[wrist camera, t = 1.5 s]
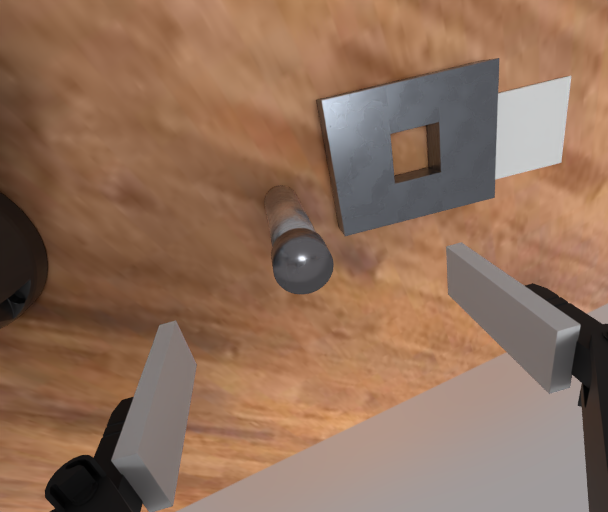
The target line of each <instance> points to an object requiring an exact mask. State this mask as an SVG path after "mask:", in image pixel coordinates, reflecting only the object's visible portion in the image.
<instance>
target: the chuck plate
mask: <svg viewBox="0 0 608 512" xmlns="http://www.w3.org/2000/svg"><path fill="white" fill-rule="evenodd" d="M498 82H499V58H497V59H489V60H482V61H477V62H473V63H469V64H465V65H461V66H456V67H452V68H448V69H444V70H440V71H435V72H431V73H427V74H423V75H419V76H414V77H410V78H406V79H402V80H398V81H393V82H389V83H385V84H381V85H377V86H372V87H368V88H364V89H360V90H356V91H351V92H347V93H343V94H339V95H335V96H331V97H326V98H322V99H318V100H316V101H317V107H318V113H319V118H320V124H321V129H322V135H323V141H324V146H325V152H326V158H327V163H328V169H329V174H330V180H331V186H332V191H333V197H334V203H335V208H336V214H337V219H338V225H339V228H340V230H341V231H342V233H343V234H344V235H345V236H348V235H352V234H355V233H359V232H363V231H367V230H371V229H375V228H379V227H383V226H386V225H390V224H394V223H398V222H402V221H406V220H410V219H414V218H417V217H421V216H425V215H429V214H433V213H437V212H441V211H444V210H448V209H452V208H456V207H460V206H464V205H468V204H472V203H475V202H479V201H483V200H487V199H491V198H495V169H496V140H497V111H498ZM424 125H427V143H428V163H429V167H427V168H423V169H419V170H415V171H412V172H408V173H404V174H400V175H396V176H394V169H393V158H392V148H391V137H390V134H392V133H396V132H400V131H404V130H408V129H412V128H416V127H420V126H424Z"/></svg>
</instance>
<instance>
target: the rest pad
mask: <svg viewBox="0 0 608 512" xmlns="http://www.w3.org/2000/svg"><path fill="white" fill-rule="evenodd" d="M570 82H571V76H566V77H562V78H558V79H554V80H550V81H546V82H541V83H537V84H533V85H529V86H525V87H521V88H517V89H513V90H509V91H505V92H500V93H498V111H497V140H496V169H495V179H499V178H503V177H507V176H511V175H515V174H518V173H522V172H526V171H530V170H534V169H538V168H542V167H546V166H550V165H554V164H558V163H561V159H562V151H563V142H564V134H565V125H566V117H567V108H568V100H569V91H570Z"/></svg>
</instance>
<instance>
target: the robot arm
mask: <svg viewBox="0 0 608 512" xmlns="http://www.w3.org/2000/svg"><path fill="white" fill-rule="evenodd" d="M446 253H447V278H448V295H449V296H450V297H451V298H452V299H453V300H455V301H456V302H457V303H458V304H459V305H460V306H461V307H462V308H463V309H464V310H465V311H466V312H467V313H468V314H469V315H470V316H471V317H472V318H473V319H474V320H475V321H476V322H477V323H478V324H479V325H480V326H481V327H482V328H483V329H484V330H485V331H486V332H487V333H488V334H489V335H490V336H491V337H492V338H493V339H494V340H495V341H496V342H497V343H498V344H499V345H500V346H501V347H502V348H503V349H504V350H505V351H506V352H507V353H508V354H509V355H510V356H511V357H512V358H513V359H514V360H516V362H517V363H518V364H519V365H521V366H522V368H523V369H524V370H525V371H527V372H528V373H529V374H530V375H531V376H532V377H533V378H534V379H535V380H536V381H537V382H538V383H539V384H540V385H541V386H542V387H543V388H544V389H545V390H546V391H547V392H548V393H549V394H550V393H553V392H557V391H560V390H564V389H567V388H570V384H571V378H572V375H573V376H575V377H576V378H577V379H578V380H579V381H580V382H582V385H581V390H580V396H579V401H578V406H581V407H582V417H583V431H584V445H585V459H586V473H587V487H588V501H589V512H608V324H601V323H600V322H598V321H597V320H595V319H594V318H592V317H591V316H589V315H588V314H586V313H584V312H583V311H581V310H580V309H578V308H577V307H575V306H574V305H572V304H571V303H568V302H567V301H566V300H564V299H563V298H561V297H560V298H559V296H558V295H557V294H555V293H554V292H552V291H550V290H549V289H547V288H544V287H542V286H539V285H536V284H533V283H532V284H529V285H525V286H524V285H522V284H521V283H520V282H518V281H517V280H515V279H514V278H512V277H511V276H509V275H508V274H506V273H505V272H504V271H502V270H501V269H499V268H498V267H496V266H495V265H493V264H492V263H491V262H489V261H488V260H486V259H485V258H483V257H482V256H480V255H479V254H477V253H476V252H475V251H473V250H472V249H470V248H469V247H467V246H466V245H464V244H463V243H462V242H461V243H458V244H454V245H450V246H447V247H446ZM47 270H48V264H47V256H46V252H45V248H44V245H43V242H42V240H41V238H40V236H39V234H38V232H37V230H36V229H35V227H34V226H33V224H32V223H31V221H30V220H29V219H28V218H27V216H26V215H25V214H24V213H23V212H22V211H21V210H20V209H19V208H18V207H17V206H16V205H15V204H14V203H13V202H12V201H11V200H9V199H8V198H7V197H6V196H4V195H3V194H2V193H0V329H1V328H3V327H4V326H6V325H8V324H9V323H11V322H12V321H14V320H15V319H17V318H18V317H19V316H20V315H21V314H22V313H23V312H24V311H25V310H26V309H27V308H28V307H29V306H30V305H31V304H32V303H33V302H34V301H35V300H36V299H37V298H38V296H39V295H40V293H41V291H42V290H43V287H44V285H45V282H46V278H47ZM196 366H197V364H196V362H195V360H194V358H193V356H192V353H191V351H190V349H189V347H188V345H187V343H186V341H185V339H184V337H183V334H182V332H181V330H180V328H179V326H178V324H177V322H176V321H172V322H169V323H165V324H161V325H159V328H158V331H157V333H156V336H155V339H154V342H153V345H152V347H151V350H150V353H149V356H148V359H147V361H146V364H145V367H144V370H143V373H142V375H141V378H140V381H139V384H138V387H137V389H136V392H135V395H134V397H131V398H128V399H124V400H122V401H121V402H120V403H119V405H118V406H117V407H116V408H115V410H114V411H113V412H112V414H111V417H110V419H109V422H108V424H107V428H106V429H105V431H104V434H103V438H102V439H101V441H100V444H99V446H98V449H97V451H96V453H95V456H94V458H93V457H91V456H90V455H81V456H78V457H76V458H73V459H72V460H70V461H68V462H67V463H65V464H64V465H63V466H62V467H61V468H60V469H58V470H57V471H56V472H55V473H54V475H53V476H52V478H51V479H50V480H49V482H48V484H47V487H46V489H45V498H46V499H47V500H48V501H49V502H50V503H51V504H52V505H53V506H54V507H55V509H54V510H52V511H50V512H140V511H141V507H142V503H143V504H144V506H145V507H146V508H147V510H148V511H149V512H154V511H158V510H161V509H164V508H168V507H171V506H173V503H174V497H175V491H176V485H177V479H178V473H179V467H180V461H181V455H182V449H183V443H184V438H185V432H186V426H187V420H188V414H189V408H190V402H191V396H192V390H193V384H194V378H195V372H196Z"/></svg>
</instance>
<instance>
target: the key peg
mask: <svg viewBox="0 0 608 512" xmlns="http://www.w3.org/2000/svg"><path fill="white" fill-rule="evenodd" d="M264 203H265V209H266V215H267V220H268V226H269V231H270V236H271V242H272V251H271V259H272V266H273V272H274V276H275V279H276V281H277V283H278V284H279V285H280V286H281V287H282V288H283V289H285V290H286V291H288V292H291V293H294V294H308V293H312V292H314V291H317V290H318V289H320V288H321V287H323V286H324V285H325V284H326V283H327V282H328V280H329V279H330V277H331V275H332V272H333V259H332V256H331V254H330V252H329V250H328V248H327V246H326V244H325V242H324V241H323V239H322V238H321V236H320V235H319V234H317V233H316V232H315V230H314V228H313V226H312V224H311V222H310V220H309V218H308V216H307V214H306V212H305V210H304V208H303V206H302V204H301V202H300V200H299V198H298V197H297V195H296V193H295V191H294V190H293V189H291V188H290V187H288V186H283V185H280V186H275V187H273V188H272V189H270V190H269V191H268V193H267V194H266V196H265V201H264Z"/></svg>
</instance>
